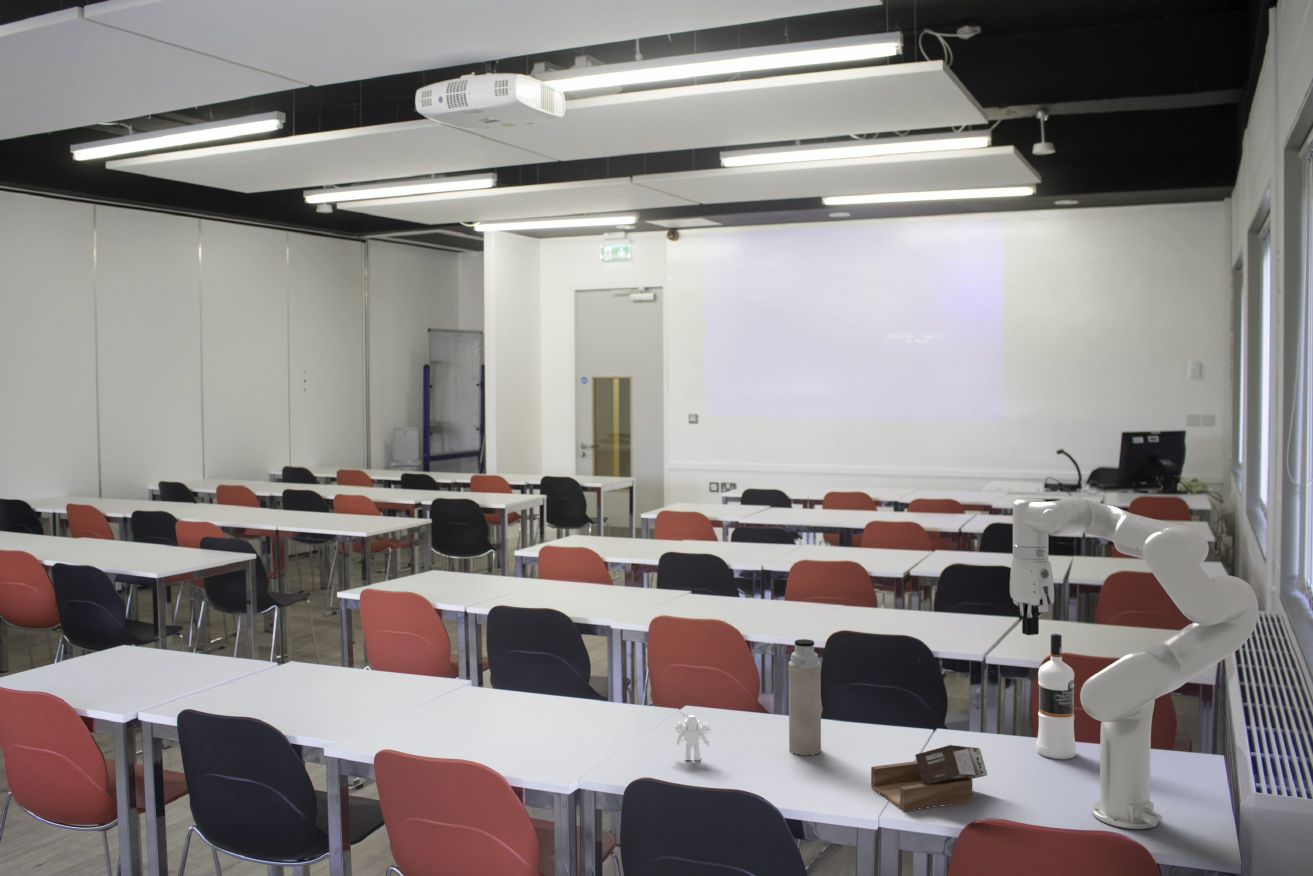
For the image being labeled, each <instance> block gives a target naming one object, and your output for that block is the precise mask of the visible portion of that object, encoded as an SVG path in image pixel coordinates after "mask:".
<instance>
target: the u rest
mask: <svg viewBox="0 0 1313 876" xmlns="http://www.w3.org/2000/svg"><path fill="white" fill-rule="evenodd" d="M870 769H871V771H870V775H871V776H870V777H871V778H870V779H871V781H870V782H871V783H870V785H871V786H870V787H873V788H874V789H875V790H877V791H878V792H880V793H881V794H882V795H884V796H885V797H886V798H887V799H888V800H887V799H886V798H885V797H884V798H885V799H886V800H887V801H888V802H890V803H891V804H893V805H894V804H895V805H894V806H896V807H897V808H898V807H899V810H901V809H902V810H903V811H902V810H901V811H902V812H904V811H905V812H908V811H907V810H912V811H914V810H913V809H919V808H926V809H928V808H927V807H933V806H939V807H942V806H941V805H946V806H951V805H950V804H953V805H959V803H960V804H966V803H972V802H973V779H970V778H962V779H955V780H948V781H940V782H933V783H923V782H922V779H921V775H920V771H919V767H918V763H917V760H914V761H906V762H900V763H891V764H883V765H875V766H871V768H870ZM874 789H873V790H874ZM875 790H874V791H875ZM877 791H876V792H877ZM878 792H877V793H878ZM881 794H880V795H881ZM882 795H881V796H882ZM933 808H934V807H933ZM919 810H920V809H919Z"/></svg>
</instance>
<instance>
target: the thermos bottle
mask: <svg viewBox="0 0 1313 876" xmlns="http://www.w3.org/2000/svg"><path fill="white" fill-rule="evenodd" d="M794 645H795V646H794V651H793V652H791V655H790V656H791V657H790V661H788V749H789V752H790V751H791V752H790V753H792V752H793V753H795V754H794V755H797V754H800V755H799V756H802V755H812V756H814V755H813V754H817V753H819V752H820V751H821V752H822V711H821V710H822V708H821V707H822V697H821V694H822V693H821V690H822V689H821V688H822V687H821V686H822V685H821V683H822V682H821V681H822V680H821V677H822V675H821V674H822V673H821V670H822V669H821V667H822V666H821V665H822V664H821V662H820V661H819V660H818V659H819V655H818V653H817V652H815V646H814V645H815V641H814V640H812V639H807V638H806V639H805V638H801V639H796V640H794ZM821 752H820V753H821ZM793 753H792V754H793ZM820 753H819V754H820ZM817 755H818V754H817Z"/></svg>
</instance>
